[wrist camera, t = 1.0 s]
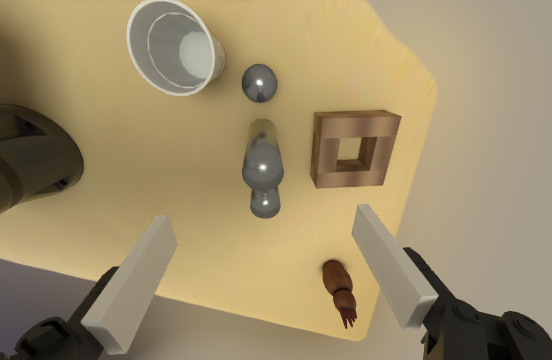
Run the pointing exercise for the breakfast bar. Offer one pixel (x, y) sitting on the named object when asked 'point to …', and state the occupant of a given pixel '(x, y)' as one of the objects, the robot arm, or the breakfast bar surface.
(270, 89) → the short pin
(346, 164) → the hole block
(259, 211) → the medium pin
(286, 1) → the breakfast bar surface
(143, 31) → the cup
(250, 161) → the long pin
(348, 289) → the wooden figurine
